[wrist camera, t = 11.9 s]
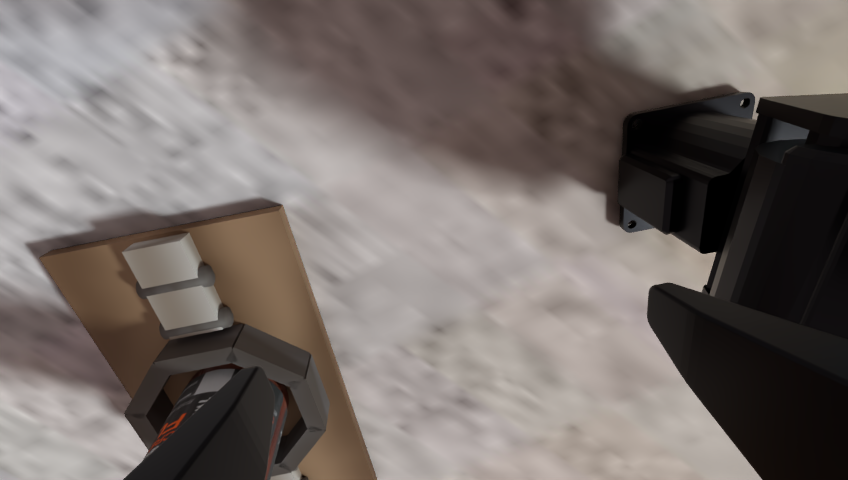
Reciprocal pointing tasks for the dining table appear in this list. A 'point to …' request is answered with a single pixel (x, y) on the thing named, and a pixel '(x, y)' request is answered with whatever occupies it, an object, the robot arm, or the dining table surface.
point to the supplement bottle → (204, 389)
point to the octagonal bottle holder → (217, 328)
